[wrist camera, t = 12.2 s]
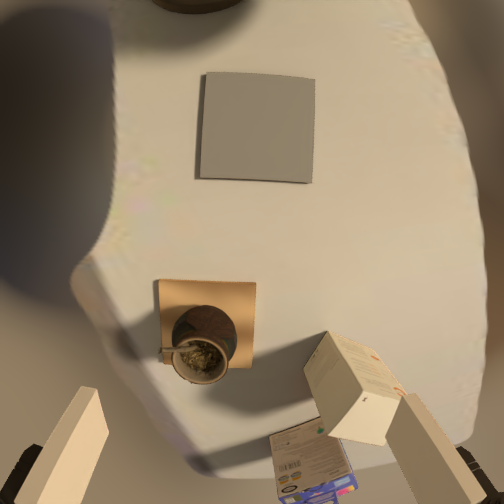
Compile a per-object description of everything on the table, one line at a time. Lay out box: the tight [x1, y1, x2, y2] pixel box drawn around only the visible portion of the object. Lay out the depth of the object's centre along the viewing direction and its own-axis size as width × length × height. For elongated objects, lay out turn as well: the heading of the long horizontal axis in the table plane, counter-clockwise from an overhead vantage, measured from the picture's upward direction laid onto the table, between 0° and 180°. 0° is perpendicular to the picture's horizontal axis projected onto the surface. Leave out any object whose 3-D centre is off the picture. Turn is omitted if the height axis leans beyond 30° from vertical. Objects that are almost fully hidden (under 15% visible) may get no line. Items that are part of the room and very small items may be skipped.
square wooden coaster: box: [159, 279, 256, 368], centre depth 37 cm, size 11×11×1 cm
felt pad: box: [200, 72, 315, 183], centre depth 32 cm, size 12×12×1 cm
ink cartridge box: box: [269, 417, 358, 504], centre depth 35 cm, size 10×6×14 cm, turn 114°
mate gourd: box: [159, 305, 237, 384], centre depth 31 cm, size 7×8×10 cm
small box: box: [303, 331, 407, 446], centre depth 33 cm, size 8×6×13 cm
